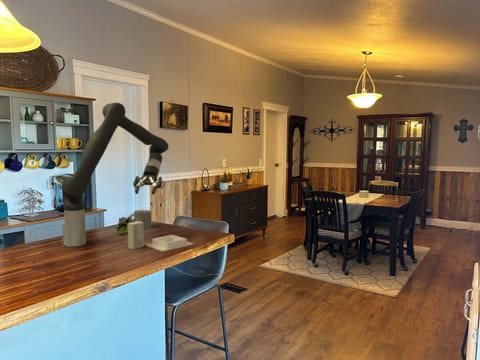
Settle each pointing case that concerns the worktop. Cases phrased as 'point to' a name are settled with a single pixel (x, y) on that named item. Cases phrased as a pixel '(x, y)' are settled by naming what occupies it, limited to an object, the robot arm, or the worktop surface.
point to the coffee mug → (143, 217)
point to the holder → (168, 243)
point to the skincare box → (135, 235)
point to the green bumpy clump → (123, 224)
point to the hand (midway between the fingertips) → (144, 193)
